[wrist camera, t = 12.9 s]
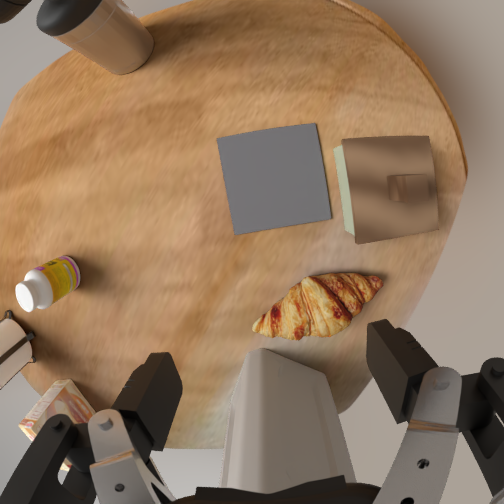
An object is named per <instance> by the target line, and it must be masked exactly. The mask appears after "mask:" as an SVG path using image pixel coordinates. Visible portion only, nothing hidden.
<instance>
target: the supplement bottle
mask: <svg viewBox="0 0 504 504" xmlns="http://www.w3.org/2000/svg"><path fill="white" fill-rule="evenodd" d="M79 283H80V271H79V268H78V266H77V264H76V263H75V262H74V260H73V259H71V258H70V257H68V256H61V257H58V258H56V259H54V260H52V261H49V262H47V263H45V264H43V265H41V266H39V267H37V268H35V269H33V270H31V271H29V272H28V273H27V274H26V276H25V279H24V281H22V282H20V283H19V284H17V286H16V297H17V300H18V302H19V304H20V306H21V307H22V308H23V309H24V310H25V311H27V312H31V311H33V310H34V309H36V308H39V309H46V308H48V307H49V306H51V305H52V304H54V303H55V302H57V301H58V300H60V299H61V298H63V297H64V296H66V295H67V294H69V293H70V292H72V291H73V290H75V289H76V288H77V287H78V285H79Z"/></svg>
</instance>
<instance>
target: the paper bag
mask: <svg viewBox="0 0 504 504" xmlns="http://www.w3.org/2000/svg"><path fill="white" fill-rule="evenodd" d="M340 475H344V476H345V481H346V483H350V482H354V483H357V482H356V478H355V474H354V471H353V467H352V463H351V460H350V456H349V452H348V448H347V445H346V441H345V437H344V434H343V430H342V427H341V424H340V420H339V417H338V413H337V410H336V406H335V403H334V400H333V396H332V393H331V390H330V386H329V384H328V381H327V378H326V376H325V374H324V373H322V372H319V371H317V370H314V369H312V368H309V367H307V366H304V365H302V364H300V363H297V362H295V361H292V360H290V359H288V358H285V357H283V356H281V355H278V354H276V353H274V352H272V351H269V350H267V349H264V348H260V349H256V350H253V351H250V352H248V353H247V355H246V357H245V360H244V363H243V366H242V369H241V372H240V374H239V377H238V380H237V383H236V386H235V389H234V392H233V394H232V397H231V400H230V407H229V415H228V422H227V430H226V437H225V445H224V453H223V460H222V467H221V475H220V483H219V488H235V489H240V490H245V491H251V492H258V493H265V494H270V493H274V492H278V491H281V490H284V489H288V488H291V487H294V486H297V485H300V484H303V483H305V482H309V481H315V480H321V479H326V478H331V477H336V476H340Z"/></svg>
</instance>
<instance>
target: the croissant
mask: <svg viewBox="0 0 504 504" xmlns="http://www.w3.org/2000/svg"><path fill="white" fill-rule="evenodd" d="M382 286H383V282H382V280H381V279H380V278H379V277H377V276H362V275H360V274H357V273H337V274H334V273H328V274H324V275H319V276H309V277H305V278H304V279H303V280H302V281H301V283H298V284H296V285H295V286H294V287H292V288H291V289H290V290H289V293H288V294H287V295H286V297H285V298H284V299H281V300H279V302H278V303H276V304H274V305H273V306H272V308H271V309H270V310H269V312H268V313H266V314H263V315H262V316H261V317H260V318H259V319H258V320H257V321H256V322H255V323H254V324H253V328H252V330H253V331H254V332H255V333H261V334H262V335H265V336H267V337H271V338H274V337H276V336H278V337H283V338H285V339H286V338H287V339H290V340H298V341H299V340H300V339H301V338H302V337H303V336H310V335H311V336H319V337H331V336H332V335H335V334H337V333H338V332H340V331H342V330H344V329H345V328H346V327H348V326H349V324H350V323H351V320H352V318H353V317H354V316H355V315H357V314H359V313H360V312H361V310H362V307H363V304H364V302H369V301H370V300H372V299H373V297H374V296H375V294H376V293H377V291H378V290H379V289H380V288H381V287H382Z"/></svg>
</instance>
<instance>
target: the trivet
mask: <svg viewBox="0 0 504 504" xmlns="http://www.w3.org/2000/svg"><path fill="white" fill-rule="evenodd" d="M217 143H218V149H219V154H220V159H221V165H222V170H223V176H224V181H225V186H226V192H227V197H228V202H229V207H230V213H231V218H232V223H233V228H234V233H235V235H238V234H243V233H249V232H255V231H261V230H267V229H273V228H279V227H285V226H291V225H297V224H303V223H309V222H315V221H322V220H328V219H331V213H330V206H329V199H328V192H327V185H326V179H325V173H324V167H323V161H322V156H321V150H320V145H319V140H318V135H317V130H316V125H315V123H311V124H302V125H294V126H286V127H279V128H272V129H266V130H259V131H253V132H248V133H242V134H237V135H232V136H227V137H222V138H217Z"/></svg>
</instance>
